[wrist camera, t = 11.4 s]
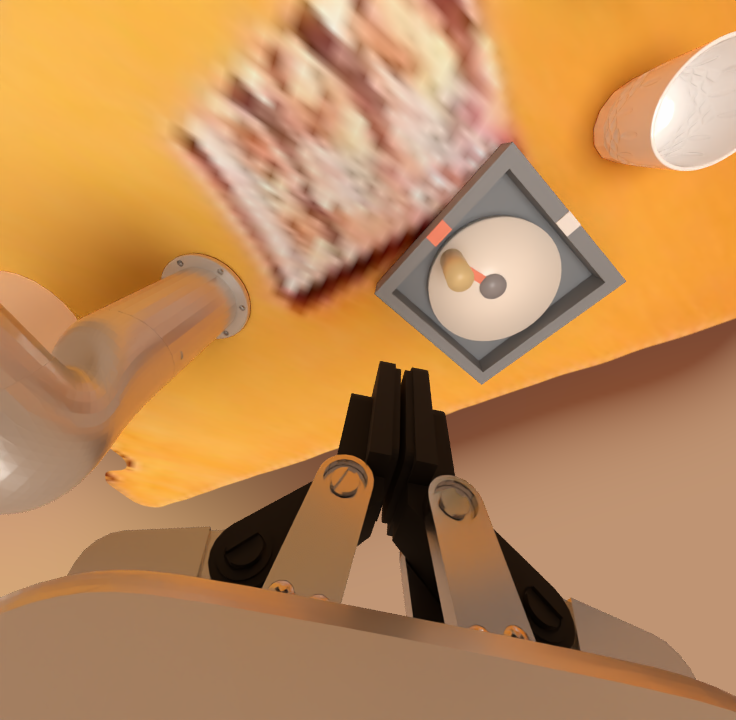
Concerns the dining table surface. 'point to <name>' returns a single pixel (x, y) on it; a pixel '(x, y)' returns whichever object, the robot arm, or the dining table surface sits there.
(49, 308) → the cylinder
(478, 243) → the dial
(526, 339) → the dial housing
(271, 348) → the dining table surface
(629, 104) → the white cup
